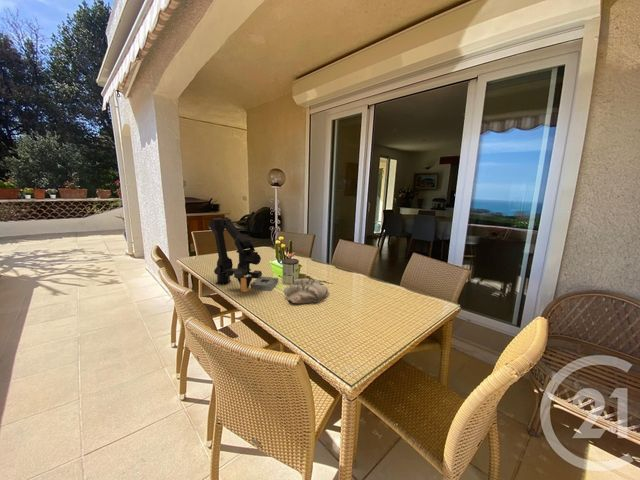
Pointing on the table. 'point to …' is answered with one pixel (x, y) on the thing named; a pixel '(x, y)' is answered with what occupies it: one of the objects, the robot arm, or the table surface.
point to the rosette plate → (264, 283)
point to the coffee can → (290, 271)
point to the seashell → (306, 291)
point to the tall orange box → (244, 284)
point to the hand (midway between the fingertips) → (244, 287)
